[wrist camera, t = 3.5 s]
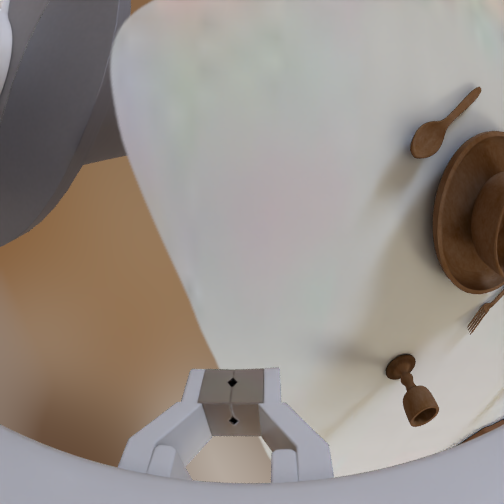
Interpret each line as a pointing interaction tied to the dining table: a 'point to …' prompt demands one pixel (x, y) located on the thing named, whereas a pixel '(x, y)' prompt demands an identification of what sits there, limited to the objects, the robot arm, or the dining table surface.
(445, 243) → the place setting
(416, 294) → the dining table surface
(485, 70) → the dining table surface
